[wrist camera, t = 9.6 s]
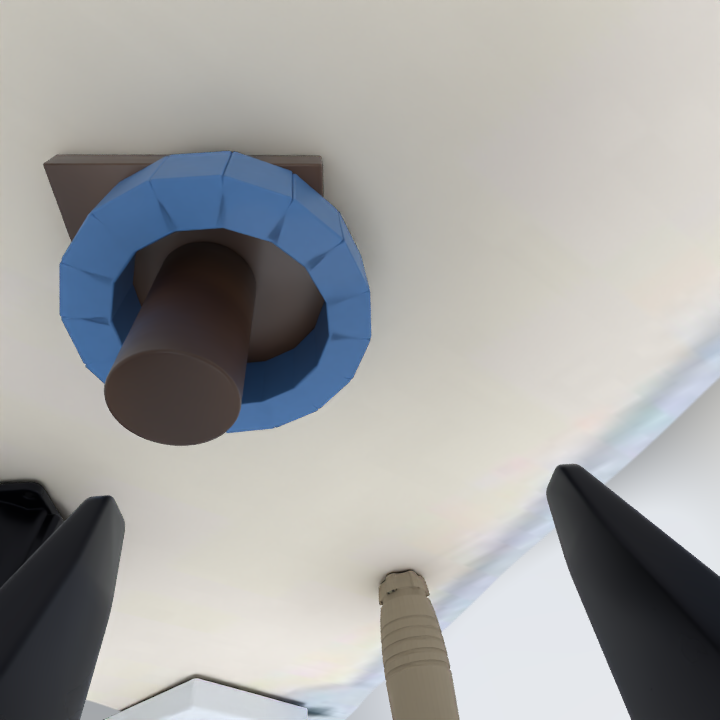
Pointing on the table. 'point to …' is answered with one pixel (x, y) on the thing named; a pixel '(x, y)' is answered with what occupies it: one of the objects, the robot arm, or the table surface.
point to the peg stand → (194, 308)
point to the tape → (240, 214)
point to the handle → (414, 652)
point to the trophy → (210, 705)
